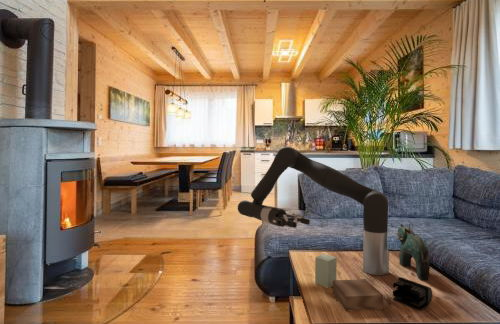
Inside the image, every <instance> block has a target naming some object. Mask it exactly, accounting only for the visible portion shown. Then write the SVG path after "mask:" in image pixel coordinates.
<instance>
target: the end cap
mask: <svg viewBox="0 0 500 324" xmlns="http://www.w3.org/2000/svg"><path fill="white" fill-rule="evenodd" d="M392 288H393V289H394V288H396V289H394V290H392V296H393V301H395V302H398V303H400V304H402V305H404V306H407V307H409V308H412V309H415V310H416V311H420V312H421V311H422V310H425V309H427V307H429V305H430V304H431V302H432V299H433V289H432V288H431V287H430V286H427V285H425V284H421V283H418V282H416V281H413V280H410V279H407V278H404V277H401V276H398V278H397V281H395V282H393V284H392Z"/></svg>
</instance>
